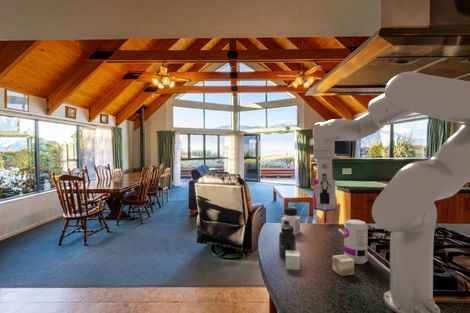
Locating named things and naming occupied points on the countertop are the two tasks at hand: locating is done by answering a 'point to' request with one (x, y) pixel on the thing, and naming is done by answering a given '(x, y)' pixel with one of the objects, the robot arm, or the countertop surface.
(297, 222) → the container
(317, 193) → the supplement box
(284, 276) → the countertop surface
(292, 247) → the supplement bottle
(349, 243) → the supplement can
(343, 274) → the birch block
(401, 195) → the robot arm
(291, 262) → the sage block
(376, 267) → the countertop surface
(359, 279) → the countertop surface
